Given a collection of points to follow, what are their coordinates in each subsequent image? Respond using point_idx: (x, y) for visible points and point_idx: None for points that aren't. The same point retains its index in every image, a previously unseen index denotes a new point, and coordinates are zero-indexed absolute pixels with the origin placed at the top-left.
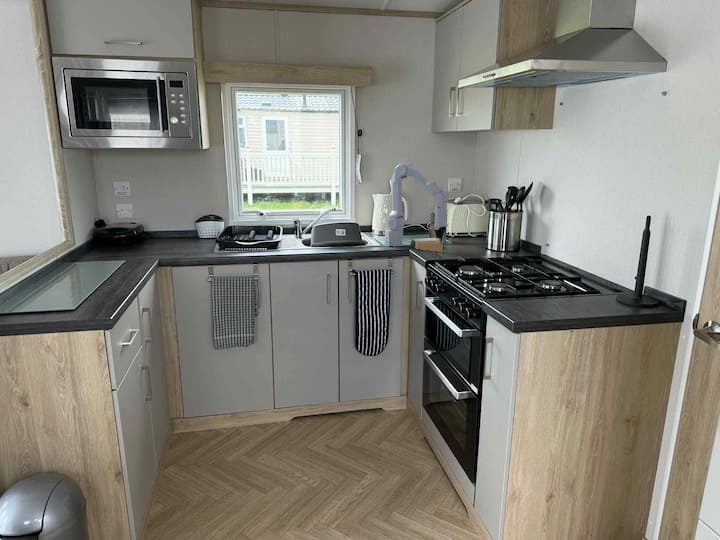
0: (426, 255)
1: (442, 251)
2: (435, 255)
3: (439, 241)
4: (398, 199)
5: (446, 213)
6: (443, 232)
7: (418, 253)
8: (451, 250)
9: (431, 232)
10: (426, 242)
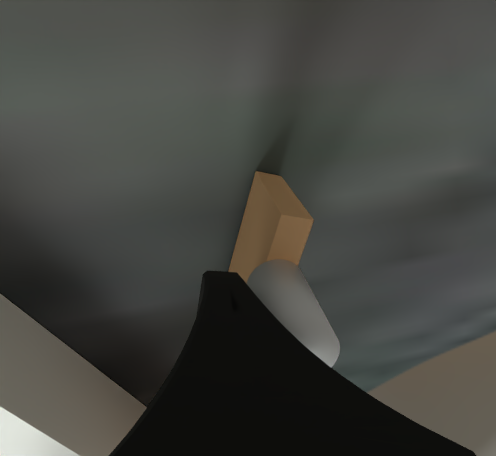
0: (461, 297)
1: (256, 173)
2: (457, 218)
3: (315, 297)
4: None
5: None
6: (312, 401)
7: (381, 373)
8: (64, 45)
9: None
10: (91, 440)
